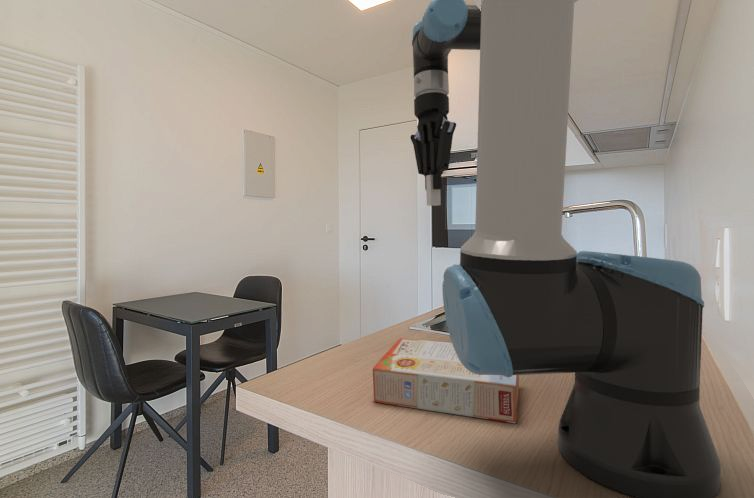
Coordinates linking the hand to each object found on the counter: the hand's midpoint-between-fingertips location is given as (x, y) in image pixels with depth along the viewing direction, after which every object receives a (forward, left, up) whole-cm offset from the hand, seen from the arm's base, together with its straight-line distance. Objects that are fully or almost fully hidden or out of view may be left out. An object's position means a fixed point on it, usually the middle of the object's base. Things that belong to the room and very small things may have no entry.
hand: (433, 205), depth 86 cm
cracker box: (-13, +20, -29) cm, 37 cm away
